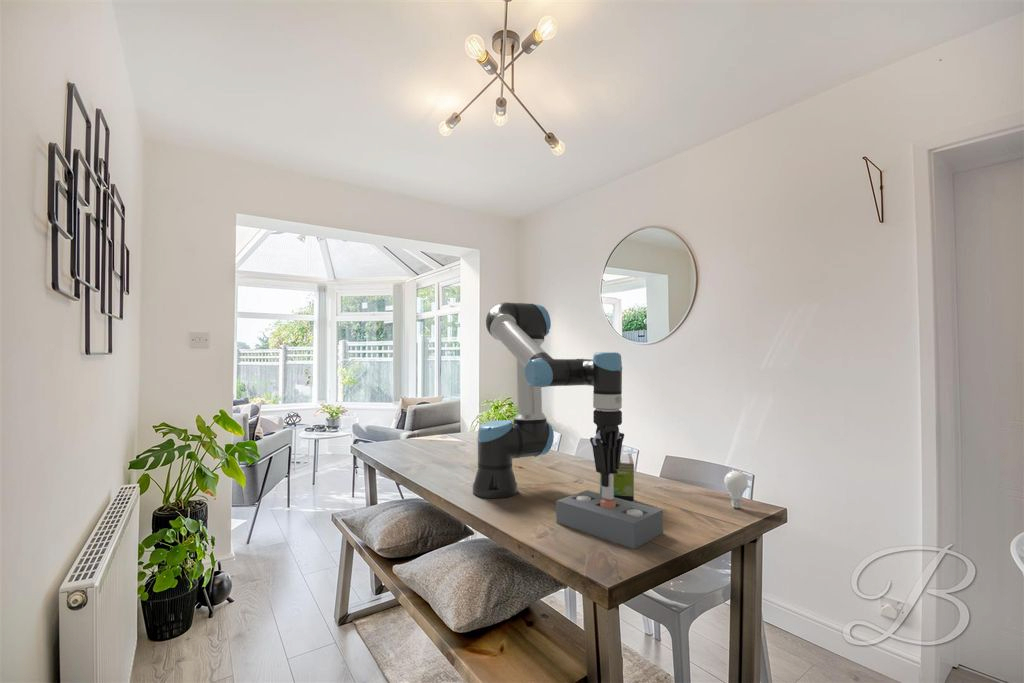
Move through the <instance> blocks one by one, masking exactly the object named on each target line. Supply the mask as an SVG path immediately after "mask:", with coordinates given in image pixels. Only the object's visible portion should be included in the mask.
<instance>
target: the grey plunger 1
mask: <svg viewBox="0 0 1024 683" xmlns="http://www.w3.org/2000/svg"><path fill="white" fill-rule="evenodd" d="M576 500H579V501H583V502H588V501H590V500H591V498H590V497H588V496H577V497H576Z"/></svg>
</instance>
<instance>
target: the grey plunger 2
mask: <svg viewBox="0 0 1024 683" xmlns="http://www.w3.org/2000/svg"><path fill="white" fill-rule="evenodd" d="M626 513H627V514H629V515H632V516H636V517H640V516H642V515H643V512H642V511H640V510H636V509H629V510H627V511H626Z"/></svg>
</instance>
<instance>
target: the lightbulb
mask: <svg viewBox="0 0 1024 683" xmlns="http://www.w3.org/2000/svg"><path fill="white" fill-rule="evenodd" d="M724 485H725V487H726V489H727V491H728V492H729V497H730V499H731V500H730V502H731V507H732V508H734V509H735V510H736V509H740V508H742V498H743V495H744V493H745V491H746V490H747V488H748V485H749V481H748V478H747V477H746V475H745V474H744V473H742V472H741V471H737V470H732V471H731V470H730V471H729V472H727V474H725V476H724Z"/></svg>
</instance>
